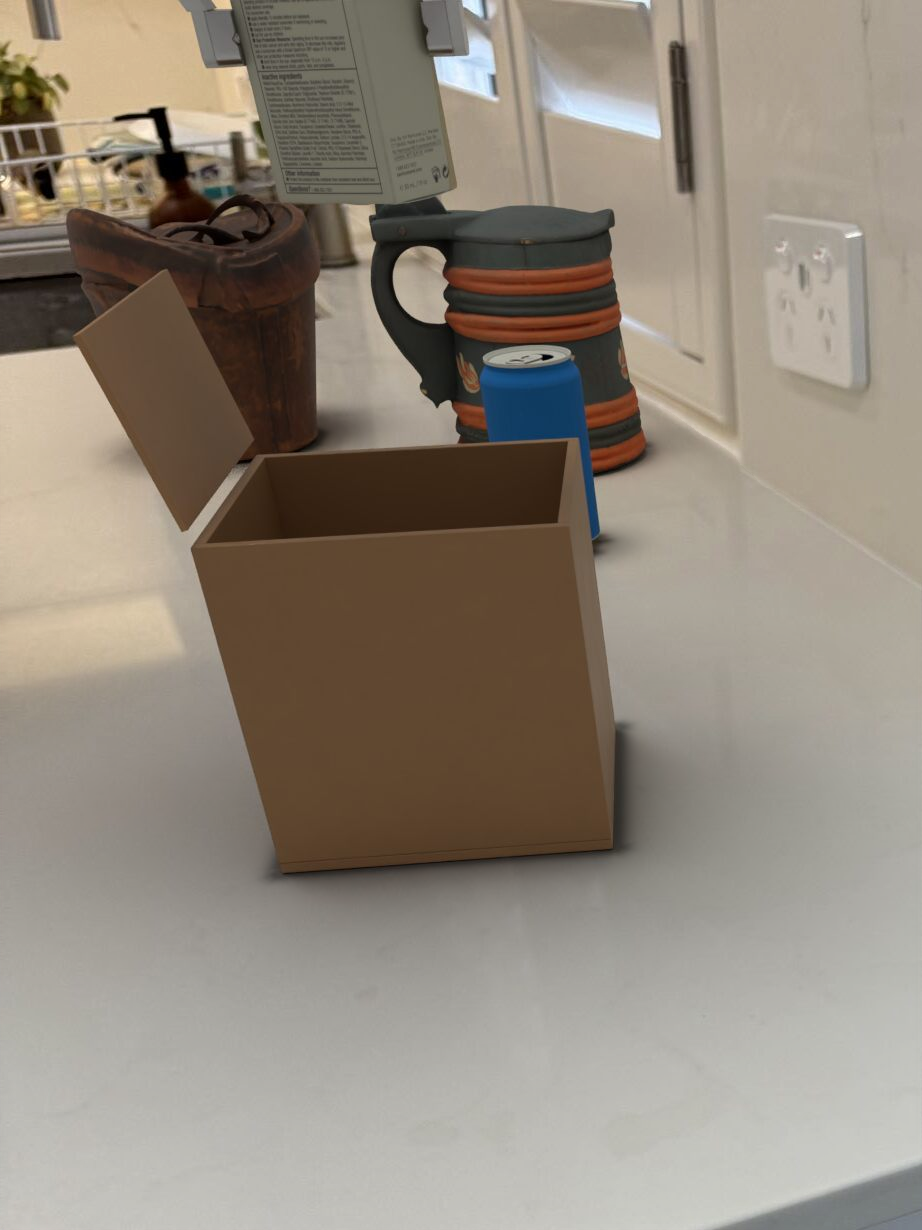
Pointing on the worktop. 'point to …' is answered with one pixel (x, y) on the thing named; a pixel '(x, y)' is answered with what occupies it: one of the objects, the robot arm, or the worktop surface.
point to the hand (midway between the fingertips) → (341, 61)
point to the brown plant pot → (226, 301)
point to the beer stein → (513, 308)
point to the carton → (416, 652)
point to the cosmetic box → (346, 100)
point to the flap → (167, 394)
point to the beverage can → (538, 403)
